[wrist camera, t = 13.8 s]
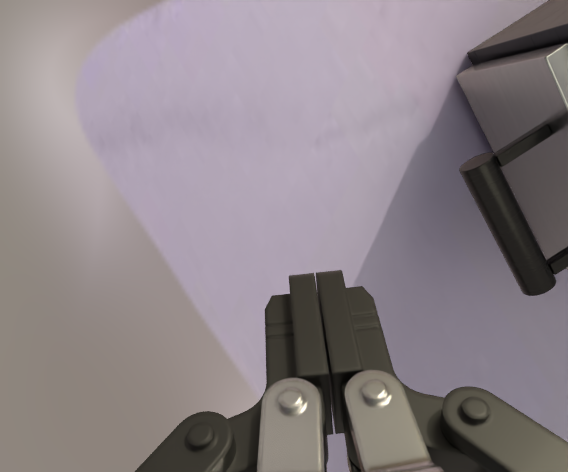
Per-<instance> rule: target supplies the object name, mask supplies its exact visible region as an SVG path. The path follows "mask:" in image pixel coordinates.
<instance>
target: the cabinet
mask: <svg viewBox="0 0 568 472" xmlns="http://www.w3.org/2000/svg"><path fill="white" fill-rule="evenodd" d="M564 43H568V0H549V1H547V2H546V3H544V4H543V5H541V6H539V7H538V8H536V9H535V10H533V11H532V12H530V13H529V14H527V15H525V16H524V17H522V18H521V19H519V20H518V21H516V22H514V23H513V24H511V25H510V26H508V27H507V28H505V29H503V30H502V31H500V32H499V33H497V34H496V35H494V36H492V37H491V38H489V39H488V40H486V41H485V42H483V43H482V44H480V45H478V46H477V47H475V48H474V49H472V50H471V51H469V52H468V53H467V54H468V57H469V59H470V61H471V63H472V65H475V64H479V63H483V62H488V61H492V60H496V59H500V58H505V57H509V56H513V55H517V54H521V53H526V52H530V51H534V50H538V49H543V48H547V47H551V46H555V45H559V44H564Z"/></svg>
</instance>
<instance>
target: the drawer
mask: <svg viewBox="0 0 568 472" xmlns="http://www.w3.org/2000/svg"><path fill="white" fill-rule="evenodd" d="M456 77H457V79H458V81H459V83H460V85H461V87H462V89H463V91H464V94H465V96H466V98H467V100H468V102H469V104H470V106H471V108H472V110H473V112H474V114H475V116H476V118H477V120H478V122H479V124H480V126H481V128H482V130H483V132H484V134H485V136H486V138H487V140H488V142H489V144H490V146H491V148H492V150H493V152H494V154H493V153H484V154H481V155H478V156H476V157H474V158H472V159H470V160H468V161H467V162H465V163H464V164H463V165H462V166H461V167H460V169H459V171H460V173H461V175H462V177H463V179H464V181H465V183H466V185H467V187H468V188H469V190H470V192H471V194H472V196H473V198H474V200H475V202H476V204H477V206H478V208H479V210H480V212H481V214H482V215H483V217H484V219H485V221H486V223H487V225H488V227H489V229H490V231H491V233H492V235H493V237H494V239H495V241H496V242H497V244H498V246H499V248H500V250H501V252H502V254H503V256H504V258H505V260H506V262H507V264H508V266H509V268H510V269H511V271H512V273H513V275H514V277H515V279H516V281H517V283H518V285H519V287H520V289H521V291H522V292H523V293H524V294H525V295H529V296H535V295H540V294H543V293H545V292H547V291H549V290H551V289H552V288H553V287H554V286H555V284H556V279H555V276H554V274H557V273H559V272H560V271H562V270H563V269H567V270H568V43H564V44H559V45H555V46H551V47H547V48H543V49H538V50H534V51H530V52H526V53H521V54H517V55H513V56H509V57H505V58H500V59H496V60H492V61H488V62H483V63H479V64H475V65H472V66H471V67H469V68H467V69H466V70H464V71H463V72H461V73H460V74H458V75H457V76H456ZM501 168H502V169H501ZM502 170H503V171H502ZM503 172H504V173H503ZM504 174H505V175H504ZM505 176H506V177H505ZM511 189H512V190H511ZM512 191H513V192H512ZM513 193H514V194H513ZM514 195H515V196H514ZM515 197H516V198H515ZM516 199H517V200H516ZM517 201H518V202H517ZM518 203H519V204H518ZM519 205H520V206H519ZM520 207H521V208H520ZM521 209H522V210H521ZM522 211H523V212H522ZM523 213H524V214H523ZM524 215H525V216H524ZM525 217H526V218H525ZM526 219H527V220H526ZM527 221H528V222H527ZM528 223H529V224H528ZM529 225H530V226H529ZM530 227H531V228H530ZM531 229H532V230H531ZM532 231H533V232H532ZM533 233H534V234H533ZM534 235H535V236H534ZM535 237H536V238H535ZM536 239H537V240H536ZM537 241H538V242H537ZM538 243H539V244H538ZM539 245H540V246H539ZM540 247H541V248H540ZM541 249H542V250H541ZM542 251H543V252H542ZM543 253H544V254H543ZM544 255H545V256H544ZM545 257H546V258H545ZM546 259H547V260H546Z"/></svg>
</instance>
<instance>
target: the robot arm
mask: <svg viewBox="0 0 568 472" xmlns="http://www.w3.org/2000/svg"><path fill="white" fill-rule="evenodd" d="M316 282H317V290H316V283H315V276H314V273H310V274H300V275H291V276H289V285H290V294H284V295H275V296H272V297H271V299H270V301H269V303H268V304H267V306H266V308H265V326H266V327H265V334H266V375H267V384H266V389H265V392H264V394H263V396H262V398H261V399H260V400H259V402H258V403H257V404H256V405H254V406H253V407H252V408H251V409H249V410H247V411H245V412H243V413H241V414H239V415H236V416H234V417H231V418H229V419H226V418H225V417H224V416H223V415H221V414H219V413H215V412H209V411H207V412H199V413H196V414H193V415H191V416H189V417H188V418H186V419H185V420H183V422H181V423H180V424H179V425H178V426H177V427H176V429H174V431H173V432H172V433H171V434H170V435H169V436H168V437H167V438H166V439H165V440H164V441H163V442H162V443H161V444H160V445H159V446H158V447H157V449H156V450H155V451H154V452H153V453H152V454H151V455H150V456H149V457H148V458H147V459H146V460H145V461H144V462H143V463H142V464H141V466H140V467H139V468H138V469H137V470H136V471H135V472H327V462H328V443H327V435H330V434H333V426H332V412H333V419H334V426H335V432H336V434H338V433H344V434H345V440H346V446H347V461H348V467H349V471H350V472H568V442H566V441H565V440H563V439H562V438H560V437H559V436H557V435H555V434H554V433H552V432H551V431H549V430H548V429H546V428H545V427H543V426H542V425H540V424H538V423H537V422H535V421H534V420H532V419H531V418H529V417H528V416H526V415H524V414H523V413H521V412H520V411H518V410H517V409H515V408H514V407H512V406H511V405H509V404H507V403H506V402H504V401H503V400H501V399H500V398H498V397H497V396H495V395H493V394H492V393H490V392H488V391H486V390H484V389H481V388H477V387H460V388H457V389H455V390H453V391H451V392H450V393H449V394H448V395H447V396H446V397H445V398H443V397H438V396H432V395H427V394H423V393H419V392H416V391H414V390H412V389H410V388H408V387H407V386H405V385H404V384H403V383H402V382H401V381H400V380H399V379H398V378H397V376H396V374H395V373H394V370H393V367H392V363H391V360H390V356H389V353H388V349H387V345H386V342H385V338H384V335H383V331H382V328H381V324H380V320H379V317H378V315H377V310H376V306H375V303H374V299H373V297H372V296H371V295H370V294H369V293H368V292H367V291H366V290H365V289H364V288H363V287H362V286H361V287H351V288H346V287H345V283H344V278H343V274H342V271H341V270H338V271H328V272H319V273H316ZM331 405H332V411H331Z"/></svg>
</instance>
